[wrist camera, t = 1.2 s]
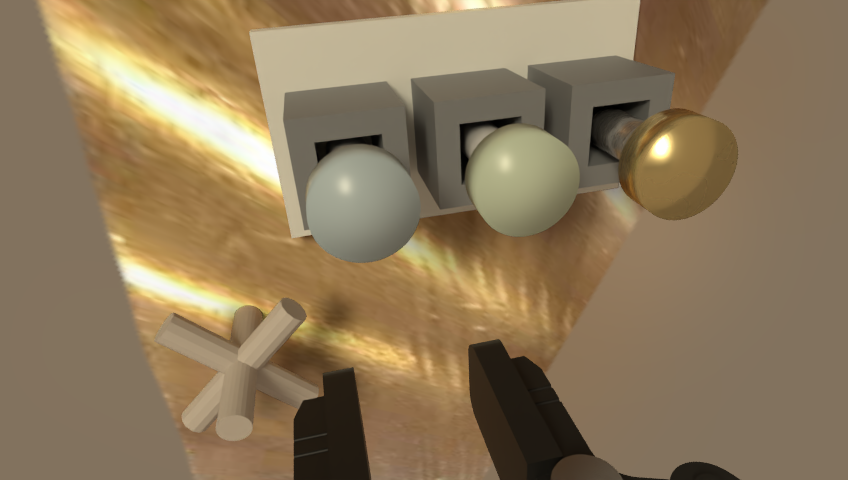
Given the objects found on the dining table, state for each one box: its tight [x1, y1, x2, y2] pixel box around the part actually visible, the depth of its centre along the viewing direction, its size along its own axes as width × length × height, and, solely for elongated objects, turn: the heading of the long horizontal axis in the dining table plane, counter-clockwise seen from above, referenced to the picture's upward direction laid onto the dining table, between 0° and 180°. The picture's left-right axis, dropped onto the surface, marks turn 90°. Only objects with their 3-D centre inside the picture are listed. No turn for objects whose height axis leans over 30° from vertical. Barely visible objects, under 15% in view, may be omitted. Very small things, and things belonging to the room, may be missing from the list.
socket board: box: [249, 0, 675, 238], centre depth 30 cm, size 12×22×7 cm, turn 94°
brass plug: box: [590, 105, 738, 220], centre depth 27 cm, size 5×5×8 cm
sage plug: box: [459, 120, 580, 237], centre depth 26 cm, size 5×5×8 cm
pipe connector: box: [154, 298, 319, 441], centre depth 32 cm, size 10×10×10 cm
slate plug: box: [306, 136, 421, 263], centre depth 25 cm, size 5×5×8 cm
